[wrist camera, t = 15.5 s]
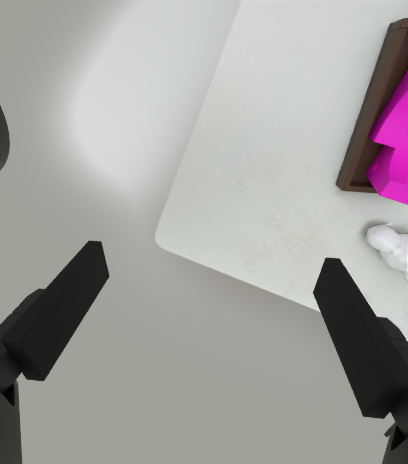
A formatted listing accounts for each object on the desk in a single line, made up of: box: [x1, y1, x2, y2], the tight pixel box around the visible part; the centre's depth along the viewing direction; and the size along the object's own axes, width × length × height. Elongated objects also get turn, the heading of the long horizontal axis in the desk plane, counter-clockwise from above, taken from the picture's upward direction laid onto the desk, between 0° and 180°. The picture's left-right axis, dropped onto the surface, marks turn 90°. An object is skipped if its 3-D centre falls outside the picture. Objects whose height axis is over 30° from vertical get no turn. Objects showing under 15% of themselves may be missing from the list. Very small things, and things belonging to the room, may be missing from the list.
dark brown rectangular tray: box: [336, 18, 408, 193], centre depth 30 cm, size 19×10×3 cm, turn 178°
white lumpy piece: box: [366, 224, 408, 282], centre depth 37 cm, size 6×8×12 cm
